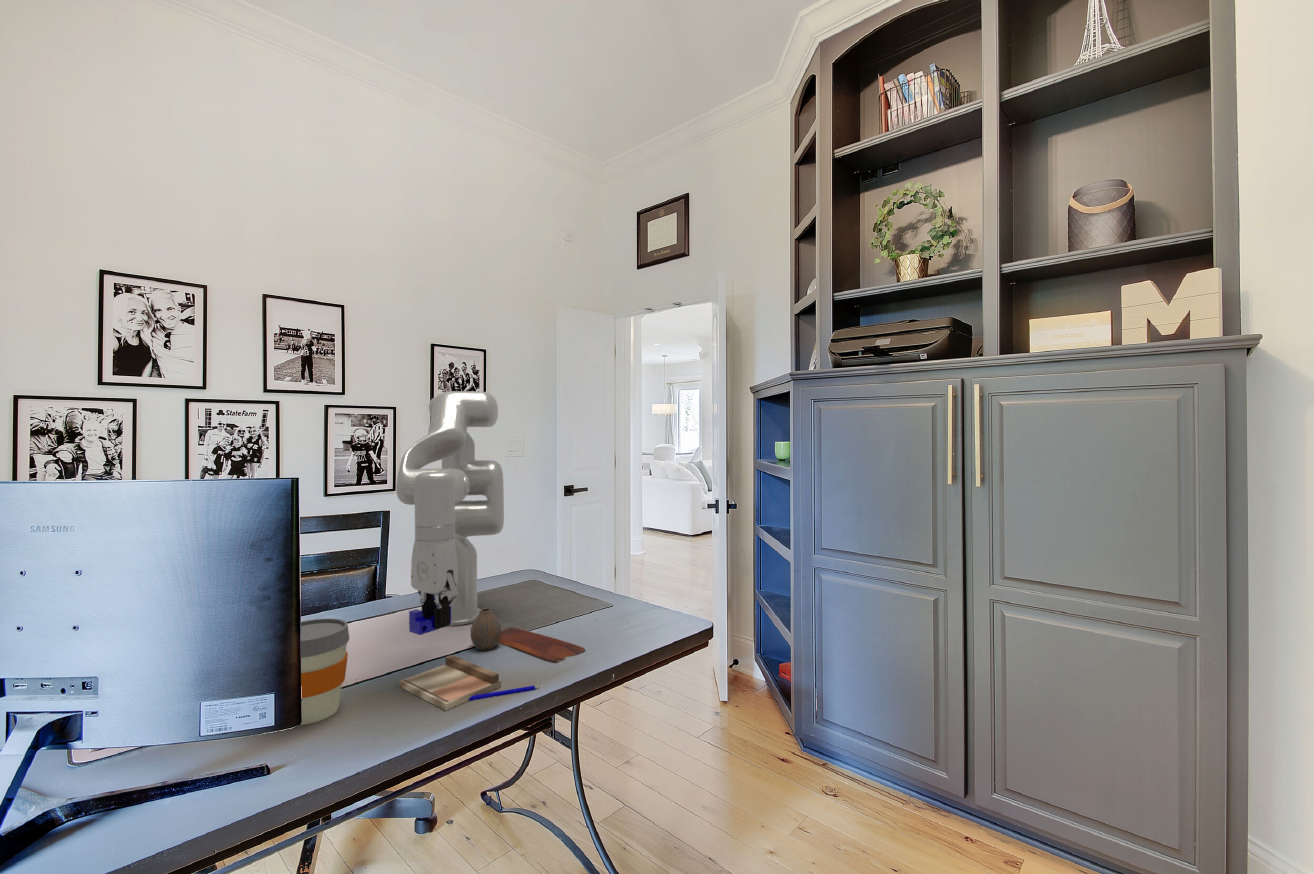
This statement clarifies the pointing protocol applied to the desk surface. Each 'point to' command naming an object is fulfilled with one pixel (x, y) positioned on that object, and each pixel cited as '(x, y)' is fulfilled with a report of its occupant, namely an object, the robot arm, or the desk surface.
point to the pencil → (503, 692)
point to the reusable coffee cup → (322, 667)
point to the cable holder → (421, 622)
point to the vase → (485, 630)
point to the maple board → (452, 683)
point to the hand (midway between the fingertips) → (436, 623)
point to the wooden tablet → (539, 645)
